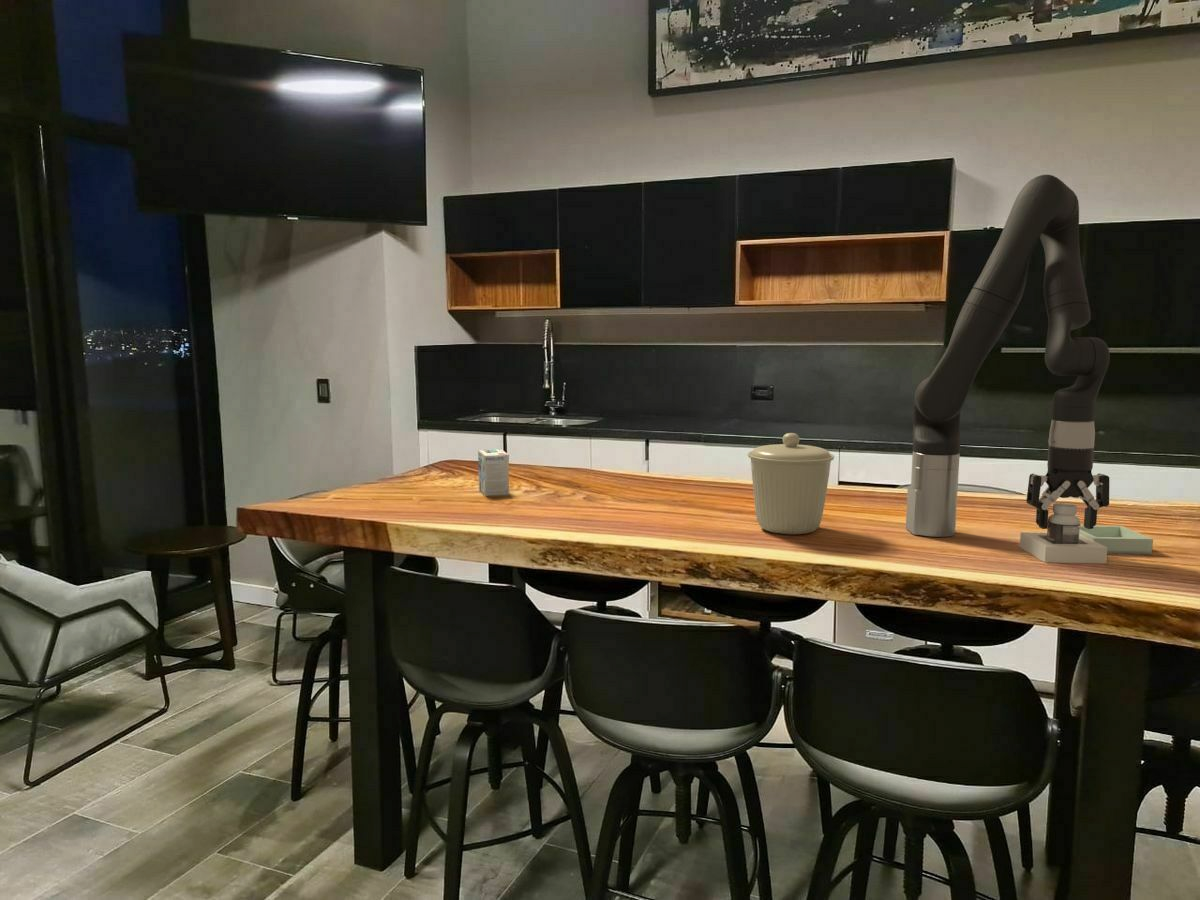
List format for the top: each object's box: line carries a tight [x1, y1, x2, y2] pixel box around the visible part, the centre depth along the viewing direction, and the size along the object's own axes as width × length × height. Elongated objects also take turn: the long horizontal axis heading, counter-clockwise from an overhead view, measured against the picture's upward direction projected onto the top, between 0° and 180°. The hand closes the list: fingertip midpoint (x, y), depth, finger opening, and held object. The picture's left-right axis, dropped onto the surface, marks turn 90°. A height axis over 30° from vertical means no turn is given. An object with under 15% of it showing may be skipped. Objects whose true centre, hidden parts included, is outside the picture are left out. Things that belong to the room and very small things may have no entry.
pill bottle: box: [1046, 502, 1081, 544], centre depth 162 cm, size 5×5×10 cm
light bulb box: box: [477, 448, 510, 497], centre depth 226 cm, size 11×7×11 cm, turn 17°
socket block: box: [1019, 532, 1108, 564], centre depth 162 cm, size 11×11×3 cm
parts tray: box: [1079, 524, 1154, 555], centre depth 168 cm, size 11×11×3 cm
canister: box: [747, 432, 835, 535], centre depth 182 cm, size 18×18×21 cm
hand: (1065, 528), depth 162 cm, fingers open, 8 cm apart
